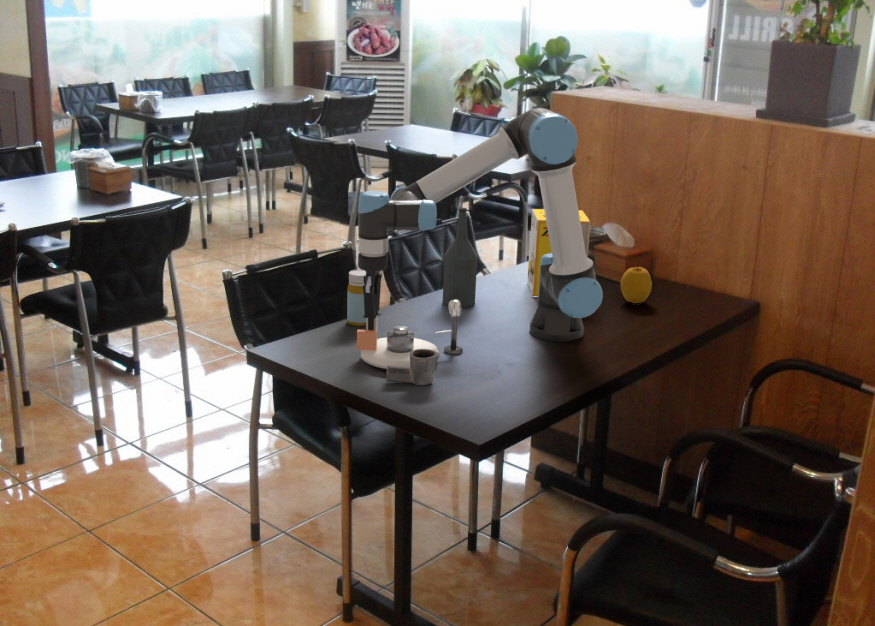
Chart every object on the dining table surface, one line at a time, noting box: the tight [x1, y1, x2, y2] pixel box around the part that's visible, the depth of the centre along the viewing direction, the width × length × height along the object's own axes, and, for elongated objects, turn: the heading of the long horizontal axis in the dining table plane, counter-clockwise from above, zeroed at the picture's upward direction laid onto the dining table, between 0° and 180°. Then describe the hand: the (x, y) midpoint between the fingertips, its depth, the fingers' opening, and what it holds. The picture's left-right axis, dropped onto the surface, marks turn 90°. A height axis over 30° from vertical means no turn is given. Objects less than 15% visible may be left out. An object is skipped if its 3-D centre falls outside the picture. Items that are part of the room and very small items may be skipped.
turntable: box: [356, 329, 439, 370], centre depth 250 cm, size 21×20×6 cm
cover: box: [386, 325, 415, 353], centre depth 251 cm, size 7×7×6 cm
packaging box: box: [526, 208, 591, 297], centre depth 310 cm, size 16×16×25 cm
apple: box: [620, 266, 653, 304], centre depth 303 cm, size 10×10×12 cm
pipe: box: [385, 349, 441, 386], centre depth 236 cm, size 6×13×8 cm, turn 95°
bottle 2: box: [442, 207, 478, 310], centre depth 293 cm, size 10×10×30 cm
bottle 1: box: [346, 269, 366, 327], centre depth 276 cm, size 7×7×15 cm
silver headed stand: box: [435, 300, 464, 356], centre depth 256 cm, size 8×5×14 cm, turn 118°
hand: (371, 340), depth 253 cm, fingers closed
